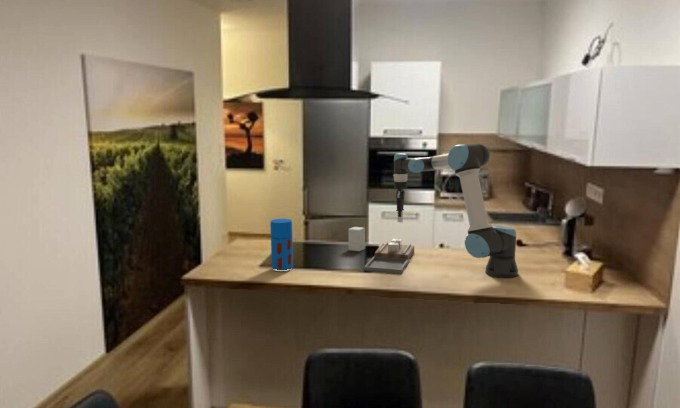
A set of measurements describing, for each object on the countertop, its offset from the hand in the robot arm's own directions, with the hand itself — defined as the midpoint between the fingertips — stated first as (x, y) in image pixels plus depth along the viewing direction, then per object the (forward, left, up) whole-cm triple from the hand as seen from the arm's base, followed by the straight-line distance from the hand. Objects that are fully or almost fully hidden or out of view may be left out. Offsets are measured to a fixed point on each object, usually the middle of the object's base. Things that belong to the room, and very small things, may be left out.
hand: (400, 221), depth 287 cm
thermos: (+50, +53, -17) cm, 75 cm away
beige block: (0, +18, -12) cm, 22 cm away
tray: (0, +35, -16) cm, 38 cm away
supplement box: (+24, +6, -17) cm, 30 cm away
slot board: (0, +14, -16) cm, 22 cm away
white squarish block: (0, +10, -12) cm, 16 cm away
